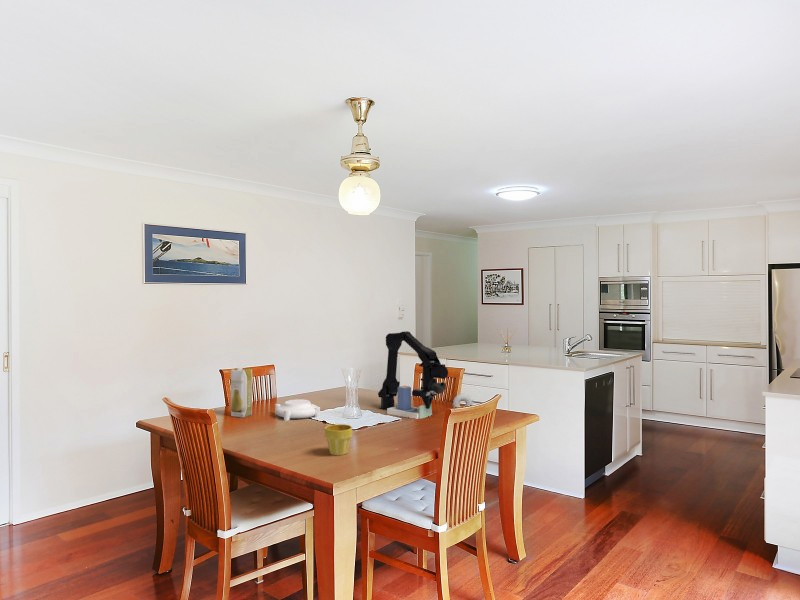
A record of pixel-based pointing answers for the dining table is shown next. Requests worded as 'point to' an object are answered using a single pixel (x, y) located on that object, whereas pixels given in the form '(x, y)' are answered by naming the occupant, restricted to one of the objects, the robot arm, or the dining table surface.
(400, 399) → the blue beige tall block
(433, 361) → the robot arm
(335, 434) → the plant pot
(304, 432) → the dining table surface
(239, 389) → the juice carton
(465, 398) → the donut
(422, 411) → the tray
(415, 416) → the beige low rectangular frame
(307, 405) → the round stand with pegs
